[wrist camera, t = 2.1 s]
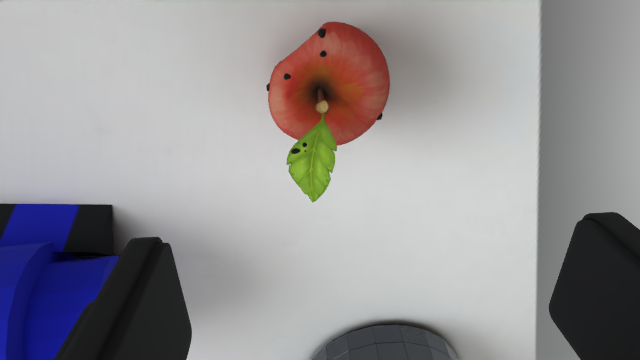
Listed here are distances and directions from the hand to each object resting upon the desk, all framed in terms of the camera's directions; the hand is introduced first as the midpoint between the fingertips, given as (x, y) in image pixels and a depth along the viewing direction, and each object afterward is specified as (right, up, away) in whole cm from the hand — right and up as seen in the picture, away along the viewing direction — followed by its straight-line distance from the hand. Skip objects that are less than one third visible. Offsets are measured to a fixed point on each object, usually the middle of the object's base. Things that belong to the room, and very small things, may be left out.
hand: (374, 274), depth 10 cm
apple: (-1, +9, +17) cm, 20 cm away
